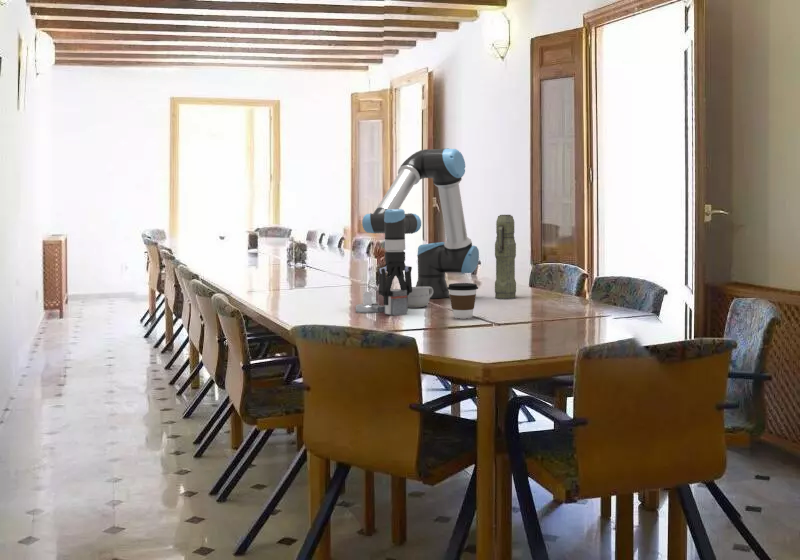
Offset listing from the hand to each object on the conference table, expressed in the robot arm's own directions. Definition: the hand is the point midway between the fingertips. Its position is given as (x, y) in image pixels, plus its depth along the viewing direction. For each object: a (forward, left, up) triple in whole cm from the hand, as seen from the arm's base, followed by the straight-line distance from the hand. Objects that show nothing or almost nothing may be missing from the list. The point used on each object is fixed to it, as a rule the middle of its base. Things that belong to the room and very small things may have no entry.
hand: (395, 312), depth 350 cm
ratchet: (+5, -9, 0) cm, 10 cm away
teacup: (-11, -20, -1) cm, 23 cm away
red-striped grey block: (0, 0, 0) cm, 0 cm away
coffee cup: (-23, +14, -1) cm, 27 cm away
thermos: (-50, -43, -1) cm, 66 cm away
